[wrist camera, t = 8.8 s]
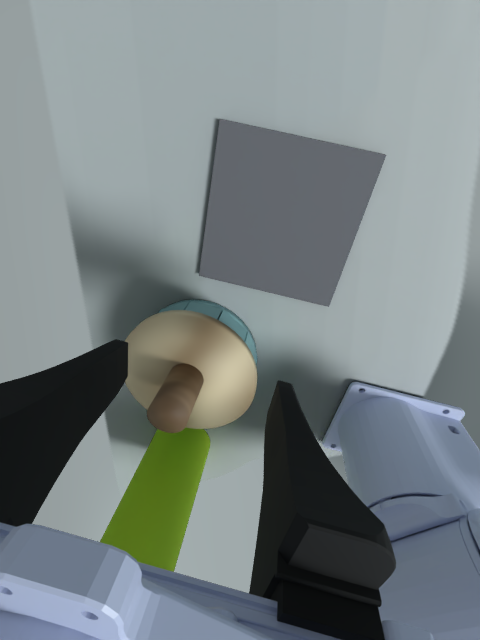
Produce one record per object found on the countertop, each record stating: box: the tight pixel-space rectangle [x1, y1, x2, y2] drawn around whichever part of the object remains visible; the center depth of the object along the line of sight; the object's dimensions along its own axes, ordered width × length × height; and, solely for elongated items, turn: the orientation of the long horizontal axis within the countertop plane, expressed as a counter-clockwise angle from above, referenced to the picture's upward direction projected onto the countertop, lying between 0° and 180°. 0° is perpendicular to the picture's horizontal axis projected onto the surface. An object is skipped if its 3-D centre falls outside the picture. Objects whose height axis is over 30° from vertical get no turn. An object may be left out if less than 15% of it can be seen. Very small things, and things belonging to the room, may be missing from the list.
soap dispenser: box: [100, 427, 210, 572], centre depth 23 cm, size 6×7×20 cm
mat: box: [199, 119, 386, 307], centre depth 20 cm, size 10×10×1 cm
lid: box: [125, 310, 257, 433], centre depth 20 cm, size 10×10×5 cm
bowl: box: [158, 299, 258, 365], centre depth 24 cm, size 10×10×4 cm
